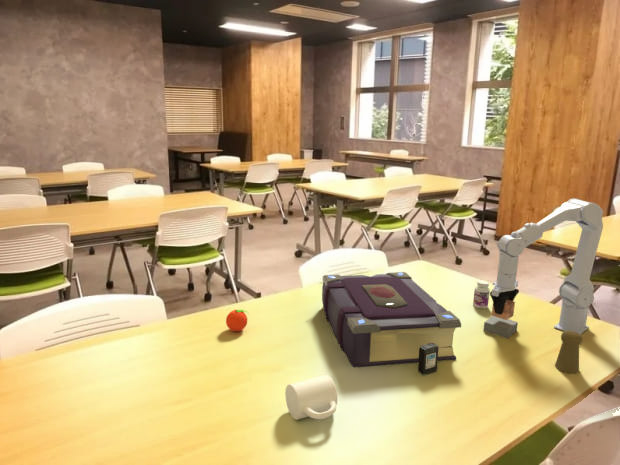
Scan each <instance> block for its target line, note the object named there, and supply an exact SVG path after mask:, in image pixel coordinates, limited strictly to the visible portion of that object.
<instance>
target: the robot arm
mask: <svg viewBox="0 0 620 465" xmlns="http://www.w3.org/2000/svg"><path fill="white" fill-rule="evenodd" d="M603 215H604V209H602V208H601V207H600V205H599V204H598V203H595V202H590V201H585V200H582V199H579V198H576V197H575V198H570V199H568V201H565V202H564V203H563V202H562V204H561V205H560V207H559V208H557V209H556V210H554V211H553V212H551V213H550V214H548V215H547V216H546V217H544V218H542V219H541V220H539V221H538V222H537V223H534V222H530V223H529V222H526V223H525V224H523V225H524V226H522V227H521V228H519V229H518V230H516V231H512V232H511V234H505V235H502V237H500V239H499V241H498V242H496V246H497V249H498V250H499V252H498V254H499V256H498V257H499V258H498V263H497V264H498V267H497V273H496V281H493V282H492V285H494V286H493V288H492V289H491V291H490V293H489V297H491V299H492V305H493V304H494V310H495V313H497V314H500V315H501V314H502V313H503V310H504V306H505V303H506V301H507V300H510V301H514V300H515V298H516V297H517V295H518V294H519V293H520V290H519V289H518V288H517V287H518V286H519V280H517V275H518V274H517V273H518V267H519V258H520V255H522V254H523V252H524V250H525V249H526V248H527V247H528V246H530V245H531V244H533V243H535V242H537V241H538V240H541V238H542V237H543V235H544V232H547V231H549V230H551V229H553V228H555V227H557V226H558V225H560V224H562V223H565V222H576V224H577V225H578V226H579V227H580V228H581V233H580V236H579V241H578V244H577V247H576V248H577V249H576V252H575V255H574V260H573V264H572V268H571V272H570V274H569V275H567V276H565V277H564V278H563V279H564V280H563V282H562V283H561V284H560V286H559V288H558V293H559V295H560V297H561V302H562V303H561V309H560V316H559V322H558V323H556V324H555V325H554V327H553V328H554V329H557V330H560V331H563V332H564V331H575V332H577V333H579V334H580V335H583V333H584V332H586V331H587V330H588V329H589V328H590V326H588V325H587V319H588V315H589V307H590V306H591V305H592V303H594V299H595V296H594V289H595V287H594V285H593V282H592V281H591V279H590V277H591V274H592V271H593V266H594V263H595V260H596V256H597V251H598V248H599V244H600V240H601V237H602V232H603V229H604V221H603Z"/></svg>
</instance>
